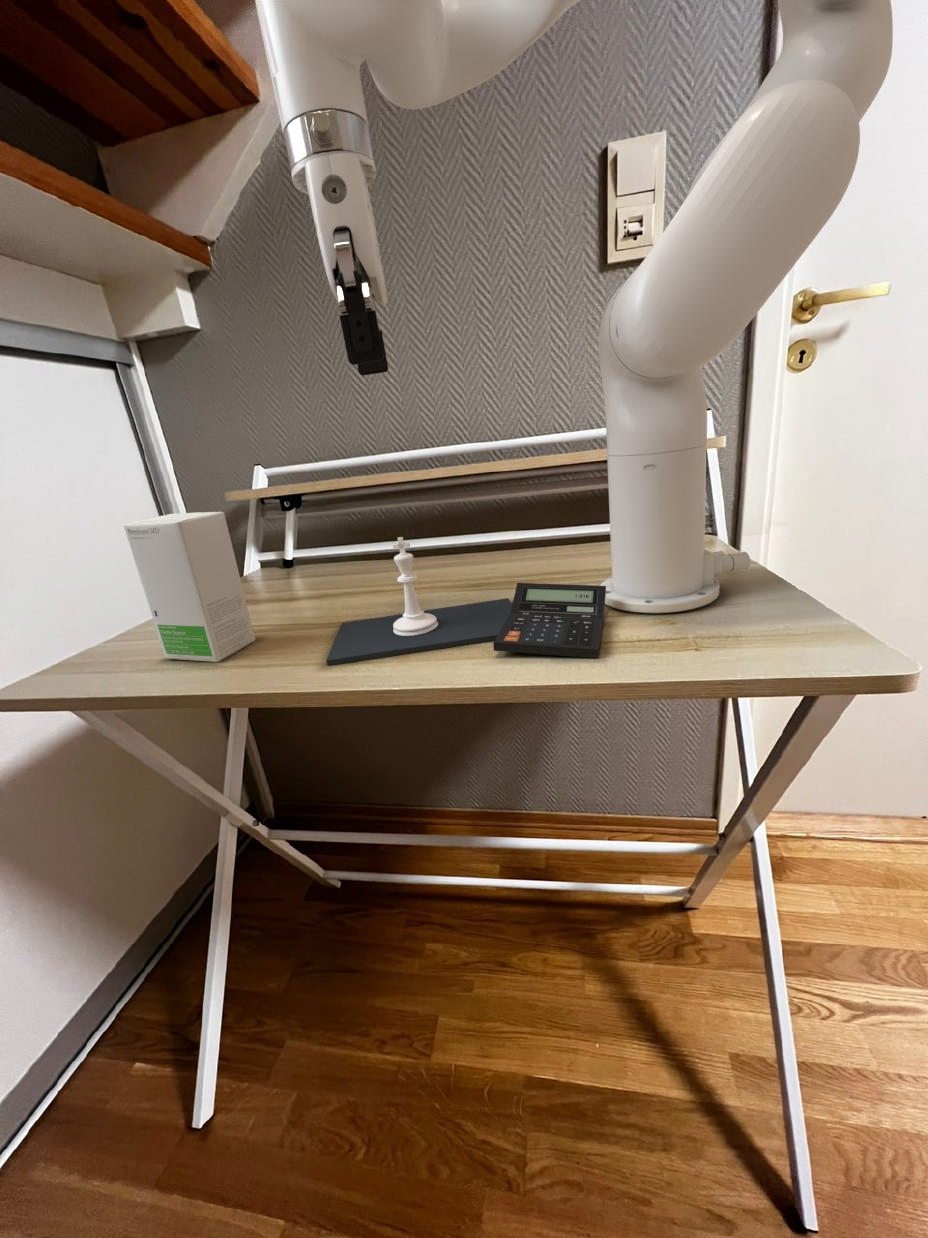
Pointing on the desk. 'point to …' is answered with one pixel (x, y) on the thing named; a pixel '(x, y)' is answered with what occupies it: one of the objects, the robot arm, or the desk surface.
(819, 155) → the robot arm
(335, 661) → the desk mat
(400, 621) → the chess piece
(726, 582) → the desk surface
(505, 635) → the calculator
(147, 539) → the cosmetic box
